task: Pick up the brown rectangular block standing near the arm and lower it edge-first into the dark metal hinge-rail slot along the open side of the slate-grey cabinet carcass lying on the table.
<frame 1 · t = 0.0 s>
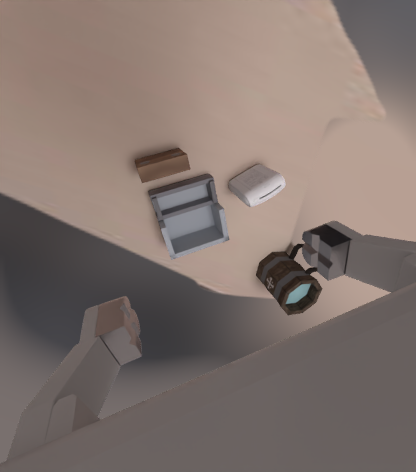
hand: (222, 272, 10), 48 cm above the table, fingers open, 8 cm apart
brown rectangular block: (159, 160, 54), on the table
cabinet: (186, 210, 61), on the table
mug: (278, 260, 80), on the table
photo printer: (244, 178, 62), on the table
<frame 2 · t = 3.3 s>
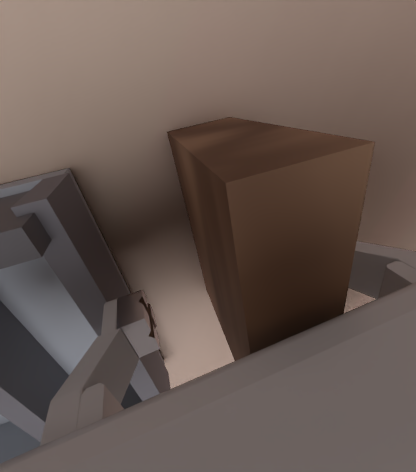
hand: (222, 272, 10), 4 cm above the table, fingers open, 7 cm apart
brown rectangular block: (215, 218, 14), on the table
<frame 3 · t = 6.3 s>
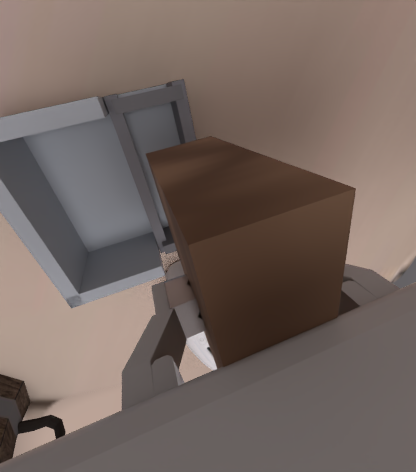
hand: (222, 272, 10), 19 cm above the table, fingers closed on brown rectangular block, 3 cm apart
brown rectangular block: (202, 238, 13), point 15 cm above the table, touching gripper
cabinet: (123, 180, 25), on the table
mug: (1, 400, 35), on the table
photo printer: (190, 283, 35), on the table
when the fingers open (5 cm above the table, at t = 8.8 s): brown rectangular block stays where it is, resting on cabinet.
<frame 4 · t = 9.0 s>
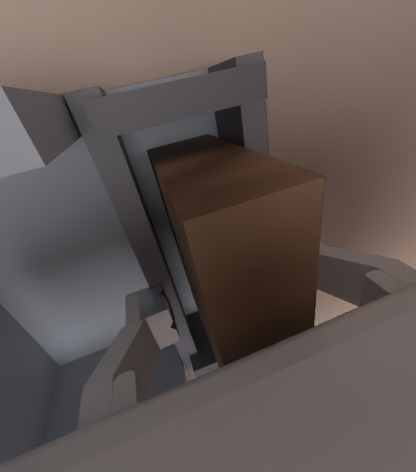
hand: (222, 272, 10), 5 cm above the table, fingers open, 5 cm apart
brown rectangular block: (199, 231, 14), point 1 cm above the table, touching cabinet
cabinet: (119, 247, 14), on the table
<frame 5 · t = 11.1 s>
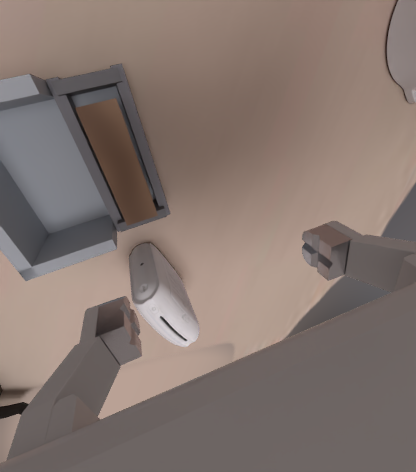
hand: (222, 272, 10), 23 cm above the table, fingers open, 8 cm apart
brown rectangular block: (120, 154, 27), point 1 cm above the table, touching cabinet
cabinet: (79, 164, 27), on the table
photo printer: (156, 267, 36), on the table
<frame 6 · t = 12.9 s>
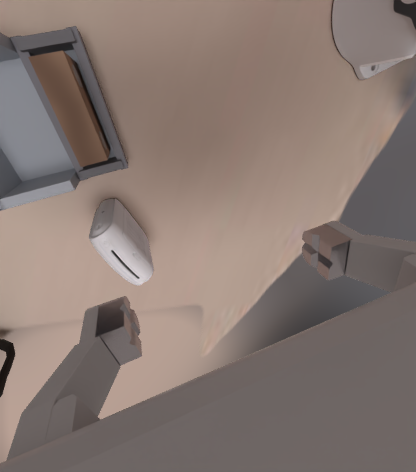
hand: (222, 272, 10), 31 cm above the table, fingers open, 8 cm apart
brown rectangular block: (83, 112, 31), point 1 cm above the table, touching cabinet
cabinet: (47, 119, 31), on the table
photo printer: (123, 223, 41), on the table
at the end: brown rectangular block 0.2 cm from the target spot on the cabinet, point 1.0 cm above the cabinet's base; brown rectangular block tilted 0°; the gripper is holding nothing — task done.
